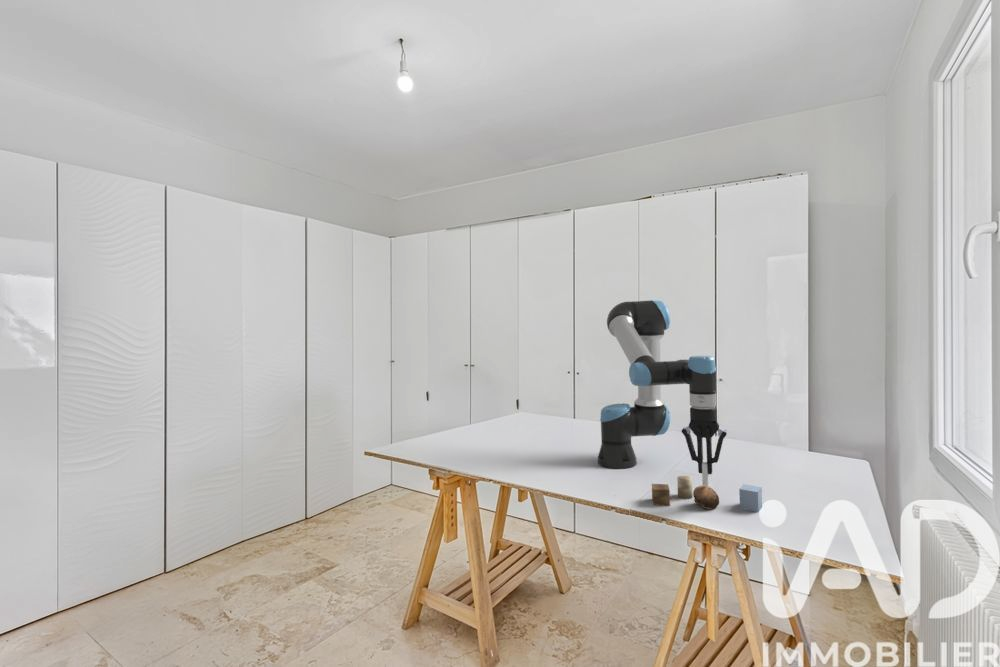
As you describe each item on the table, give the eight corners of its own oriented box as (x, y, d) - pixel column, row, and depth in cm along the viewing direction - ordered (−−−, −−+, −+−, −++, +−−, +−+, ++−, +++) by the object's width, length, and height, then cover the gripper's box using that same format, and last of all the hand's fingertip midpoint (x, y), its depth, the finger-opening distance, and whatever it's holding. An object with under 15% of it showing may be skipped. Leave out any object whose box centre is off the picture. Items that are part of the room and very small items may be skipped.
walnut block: (653, 505, 151) (652, 489, 150) (652, 499, 155) (651, 483, 155) (670, 506, 149) (669, 489, 149) (668, 500, 154) (668, 484, 154)
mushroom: (684, 490, 153) (695, 477, 149) (707, 498, 153) (718, 485, 150) (690, 511, 146) (702, 498, 143) (714, 519, 146) (726, 506, 143)
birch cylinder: (676, 497, 156) (676, 479, 155) (679, 493, 159) (678, 475, 159) (691, 499, 153) (690, 481, 153) (693, 495, 157) (692, 476, 157)
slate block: (739, 508, 145) (739, 488, 145) (744, 503, 149) (743, 484, 149) (758, 512, 142) (757, 492, 142) (762, 506, 146) (761, 487, 145)
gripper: (678, 408, 147) (681, 485, 147) (725, 410, 140) (728, 491, 141) (682, 404, 153) (685, 477, 154) (727, 405, 147) (730, 483, 147)
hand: (705, 484), depth 147 cm, fingers closed
